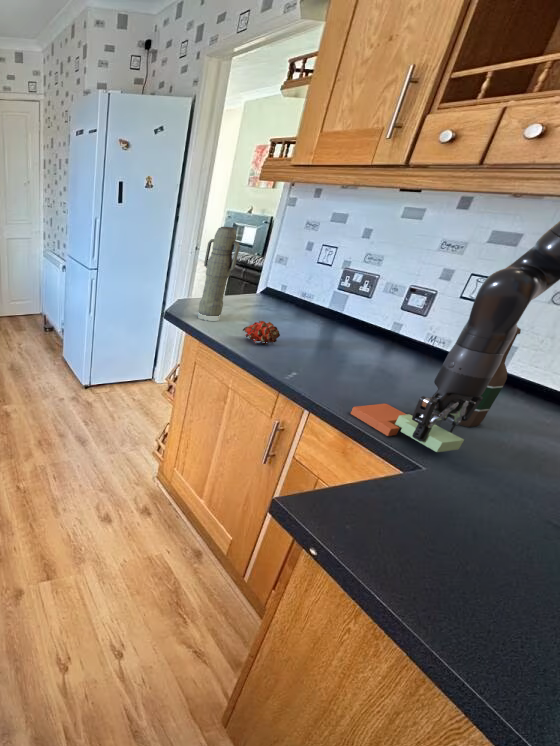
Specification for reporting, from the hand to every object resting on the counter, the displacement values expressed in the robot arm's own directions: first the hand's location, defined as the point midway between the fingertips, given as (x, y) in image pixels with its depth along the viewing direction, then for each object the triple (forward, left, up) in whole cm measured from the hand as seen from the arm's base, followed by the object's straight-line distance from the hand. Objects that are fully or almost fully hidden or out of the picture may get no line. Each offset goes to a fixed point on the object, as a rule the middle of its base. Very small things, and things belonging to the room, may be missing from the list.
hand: (429, 437), depth 90 cm
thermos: (-2, -90, -2) cm, 90 cm away
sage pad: (0, -1, -1) cm, 1 cm away
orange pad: (0, -10, -2) cm, 10 cm away
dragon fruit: (-4, -62, -2) cm, 62 cm away
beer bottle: (-20, -8, -2) cm, 22 cm away
